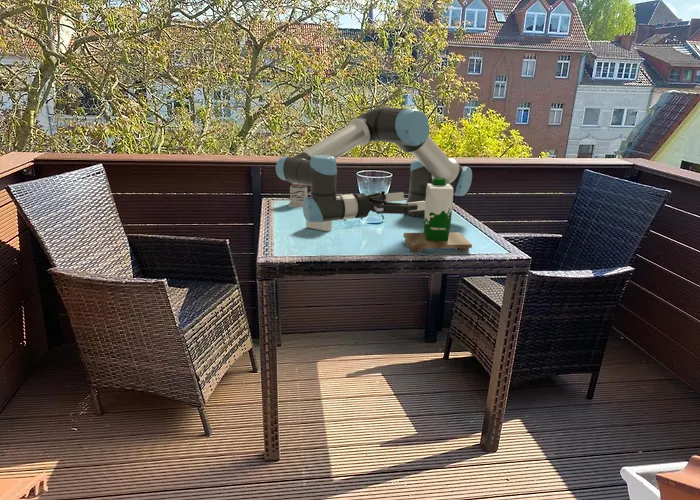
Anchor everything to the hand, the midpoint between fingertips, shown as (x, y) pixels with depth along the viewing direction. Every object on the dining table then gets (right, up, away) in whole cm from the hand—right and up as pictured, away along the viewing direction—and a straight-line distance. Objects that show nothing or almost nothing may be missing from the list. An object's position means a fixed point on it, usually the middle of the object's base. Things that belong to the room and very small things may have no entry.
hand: (413, 200), depth 159 cm
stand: (+9, -15, +9) cm, 20 cm away
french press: (-43, +5, +64) cm, 77 cm away
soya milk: (+9, -12, +9) cm, 17 cm away
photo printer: (-32, -8, +27) cm, 43 cm away
